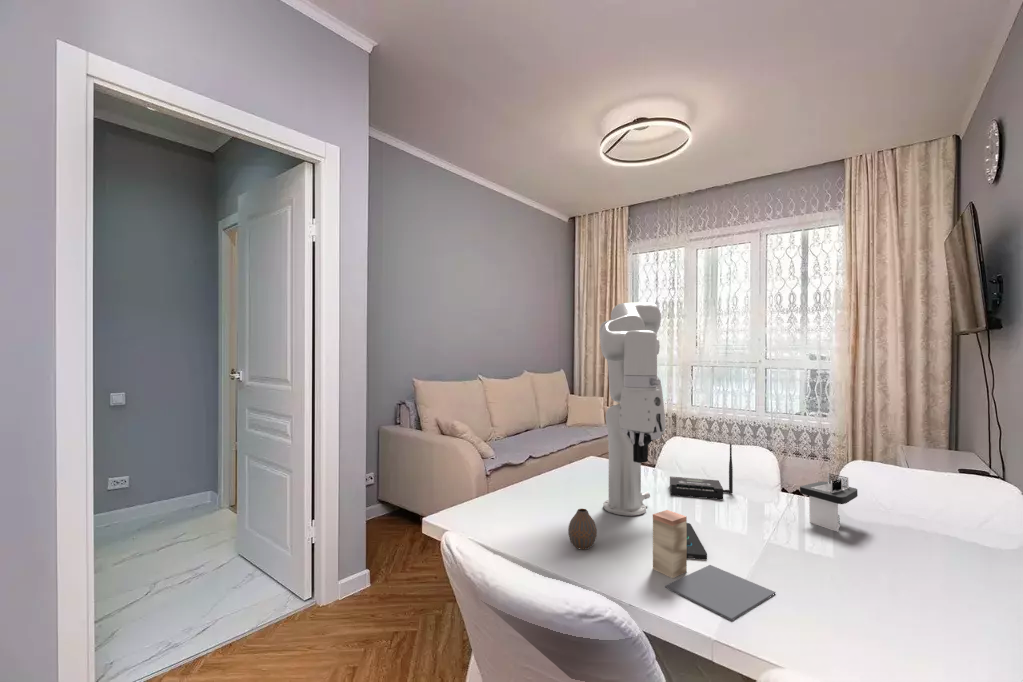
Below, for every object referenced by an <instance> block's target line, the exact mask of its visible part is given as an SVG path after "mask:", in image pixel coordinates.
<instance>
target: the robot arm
mask: <svg viewBox="0 0 1023 682" xmlns="http://www.w3.org/2000/svg"><path fill="white" fill-rule="evenodd" d="M661 314H662V313H661V310H660V308H659V306H658V305H657V304H655V303H653V302H623V303H618V304H617V305H615V306H614V307H613V308H612V309H611V312H610V319H609V320H606V321H604V322H602V323H601V324H600V327H599V340H600V341H599V343H600V344H599V345H600V350H601V354H602V356H603V357H604V359H605V360H606V362H607V369H608V373H607V375H608V387H609V388H608V390H609V396H610V398H611V400H612V401H613V402H615V403H619V404H614V405H611V406H610V407H608V408H607V410H606V412H605V425H606V429H607V442H608V499H607V500H605V501H603V503H602V504H603V505H602V506H603V509H604V510H605V511H607V512H608V513H610V514H614V515H618V516H626V517H627V516H628V517H629V516H630V517H633V516H640V515H643V514H645V513H646V512H647V506H646V505H645V504H644V503H643V501H644V500H647V499H650V498H651V495H650V493H649V491H644V492H641V490H642V484H641V483H642V479H641V478H642V474H641V473H642V472H641V471H642V467H641V466H642V463H647V462H648V461H649V459H648V458H649V446H650V445H651V443H652V442H653V441H654V440H661V438H662V436H663V435H664V434H665V432H666V413H665V404H664V395H663V387H662V383H661V379H660V378H659V377H658V356H659V354H660V353H659V352H660V347H661V346H660V339H659V338H658V336H657V334H658V332H659V331H660V330H659V329H660V326H661V322H662V321H661V320H662V315H661Z"/></svg>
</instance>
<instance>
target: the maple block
mask: <svg viewBox="0 0 1023 682" xmlns="http://www.w3.org/2000/svg"><path fill="white" fill-rule="evenodd" d="M687 521H688V520H687V516H686V515H684V514H681V513H677V512H675V511H672V510H668V509H665V510H662V511H659V512H656V513H653V514H652V570H654V571H655V572H658V573H660V574H662V575H664V576H667V577H669V578H670V579H675V578H676V577H678V576H681V575H683V574H686V573H687V571H688V570H687V566H688V565H687V559H688V558H687V523H688V522H687Z"/></svg>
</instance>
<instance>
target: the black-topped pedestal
mask: <svg viewBox="0 0 1023 682" xmlns="http://www.w3.org/2000/svg"><path fill="white" fill-rule="evenodd" d="M799 493H800V494H801V495H805V496H808V498H809V503H808V504H809V507H808V508H809V523H810V524H812V525H816V526H819V527H822V528H825V529H828V530H831V531H835V532H837V533H838V532H839V528H841V525H840V524H841V523H840V520H841V518H840V517H841V516H840V515H839V505H845V504H847V503H849V502H851V501H853V500H854V499H856V498H857V497H858V489H857V488H856V487H851V486H849V477H848V476H842V475H838V474H833V473H830V472H827V481H818V482H813V483H808V484H804V485H800V486H799Z"/></svg>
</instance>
